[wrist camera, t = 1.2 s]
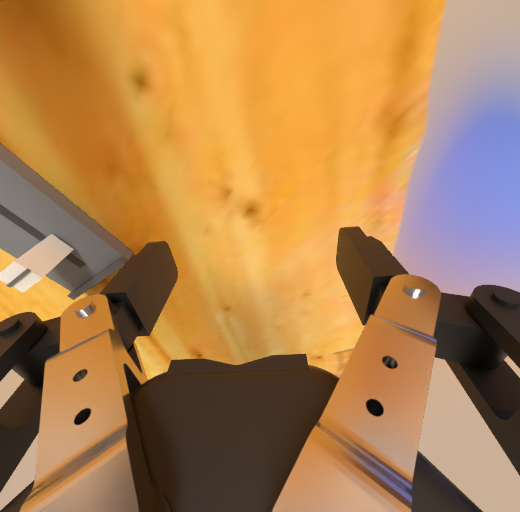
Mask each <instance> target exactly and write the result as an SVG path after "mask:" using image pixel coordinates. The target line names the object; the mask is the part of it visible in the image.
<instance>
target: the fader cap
mask: <svg viewBox="0 0 520 512" xmlns="http://www.w3.org/2000/svg"><path fill="white" fill-rule="evenodd" d="M73 250H74V249H73V248H71V247H70V246H68V245H67V244H66V243H64V242H63V241H61V240H60V239H59V238H57V237H56V236H54V235H53V234H51V235H49V236H48V237H46V238H45V239H44V240H42V241H41V242H40V243H38V244H37V245H36V246H34V247H33V248H31V249H30V250H29V251H27V252H26V253H25V254H23V255H22V256H21V257H19V258H18V259H16V260H15V261H14V262H13V263H11V264H10V265H9V266H8V267H7V268H6V269H4V270H3V271H2V272H1V273H0V280H1V281H3V282H4V283H6V284H8V285H7V286H8V287H11V286H12V287H14V288H15V289H17V290H19V291H21V292H23V293H24V292H25V291H26V290H28V289H29V288H30V287H32V286H33V285H34V284H35V283H37V282H38V281H39V280H41V279H42V278H43V277H44V276H45V275H46V274H47V273H49V272H50V271H51V270H52V269H53V268H54V267H55V266H56V265H57V264H58V263H59V262H61V261H62V260H63V259H64V258H65V257H66V256H67V255H68V254H69V253H70V252H71V251H73Z"/></svg>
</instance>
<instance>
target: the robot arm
mask: <svg viewBox="0 0 520 512" xmlns="http://www.w3.org/2000/svg"><path fill="white" fill-rule="evenodd" d="M336 264H337V269H338V271H339V274H340V276H341V278H342V280H343V282H344V285H345V287H346V289H347V291H348V293H349V296H350V298H351V300H352V302H353V305H354V307H355V309H356V311H357V313H358V316H359V318H360V320H361V322H362V324H363V325H365V327H364V329H363V331H362V333H361V335H360V338H359V340H358V342H357V344H356V346H355V348H354V350H353V352H352V354H351V356H350V358H349V360H348V362H347V364H346V367H345V369H344V371H343V373H342V375H341V377H340V378H338V377H337V376H335V375H333V374H332V373H330V372H328V371H326V370H323V369H321V368H318V367H315V366H311V365H308V362H307V356H306V354H293V355H272V356H269V357H265V358H262V359H258V360H255V361H251V362H248V363H245V364H241V365H231V364H226V363H222V362H217V361H212V360H208V359H184V360H171V363H170V366H169V369H168V371H167V372H165V373H162V374H160V375H158V376H155V377H154V378H152V379H150V380H148V379H147V376H146V373H145V370H144V367H143V364H142V361H141V357H140V354H139V351H138V348H137V346H136V344H135V342H134V341H135V339H136V337H137V336H150V334H151V332H152V330H153V327H154V325H155V323H156V321H157V319H158V317H159V315H160V313H161V311H162V309H163V307H164V305H165V303H166V301H167V299H168V297H169V295H170V293H171V291H172V289H173V287H174V285H175V283H176V281H177V277H178V271H177V267H176V264H175V261H174V259H173V256H172V253H171V250H170V248H169V245H168V243H167V242H165V241H161V242H149V243H147V244H146V245H145V247H144V248H143V249H142V250H141V251H140V253H139V254H137V255H135V256H134V257H133V258H131V259H130V260H128V261H127V263H126V264H125V265H124V266H123V267H122V268H123V269H121V270H120V271H119V272H118V273H117V275H115V276H114V278H113V279H112V280H111V281H110V282H109V283H108V284H107V286H106V287H105V288H104V289H103V290H102V291H101V293H100V294H95V295H90V296H87V297H84V298H82V299H80V300H78V301H76V302H74V303H73V304H71V305H70V306H69V307H68V308H67V309H66V310H65V311H64V312H63V313H62V315H61V317H57V318H54V319H50V320H47V321H43V322H42V321H41V319H40V318H39V317H38V316H37V315H36V314H35V313H33V312H25V313H20V314H17V315H14V316H12V317H9V318H7V319H5V320H3V321H1V322H0V381H1V380H2V379H3V378H4V377H5V375H6V374H7V373H8V372H9V371H10V370H11V369H13V370H14V371H15V372H16V373H18V374H19V375H20V376H21V377H22V378H24V379H25V380H24V381H23V382H22V383H21V385H20V386H19V387H18V388H17V390H16V391H15V392H14V394H13V395H12V396H11V397H10V398H9V399H8V401H7V402H6V403H5V404H4V406H3V407H2V408H1V409H0V492H1V491H2V489H3V487H4V486H5V484H6V482H7V481H8V480H9V478H10V476H11V475H12V473H13V472H14V470H15V469H16V467H17V466H18V464H19V462H20V461H21V459H22V458H23V456H24V455H25V453H26V451H27V449H28V448H29V447H30V445H31V443H32V442H33V440H34V439H35V437H36V436H37V434H38V433H39V438H38V449H37V460H36V471H35V480H34V481H33V482H32V483H31V484H29V485H28V486H27V487H26V488H25V489H24V490H23V491H22V492H21V493H19V494H18V495H17V496H16V497H15V498H14V499H13V500H12V501H11V502H10V503H9V504H7V505H6V506H5V507H4V508H3V509H2V510H1V511H0V512H483V511H482V510H481V509H479V508H478V507H477V506H476V505H475V504H474V503H473V502H472V501H471V500H470V499H469V498H468V497H467V496H466V495H465V494H464V493H462V492H461V491H460V490H459V489H458V488H457V487H456V486H455V485H454V484H453V483H452V482H451V481H450V480H449V479H448V478H447V477H446V476H445V475H443V474H442V473H441V472H440V471H439V470H438V469H437V468H436V467H435V466H434V465H433V464H432V463H431V462H430V461H429V460H428V459H427V458H425V457H424V456H423V455H422V454H421V453H420V452H419V451H418V446H419V440H420V434H421V429H422V424H423V418H424V412H425V407H426V401H427V396H428V390H429V384H430V379H431V373H432V368H433V362H434V357H436V358H441V359H445V360H446V362H447V363H448V365H449V366H450V368H451V370H452V371H453V373H454V374H455V375H456V377H457V379H458V380H459V382H460V383H461V385H462V386H463V388H464V390H465V391H466V393H467V394H468V396H469V397H470V399H471V400H472V402H473V404H474V405H475V407H476V408H477V410H478V411H479V413H480V415H481V416H482V418H483V419H484V421H485V422H486V424H487V425H488V427H489V429H490V430H491V432H492V433H493V435H494V436H495V438H496V439H497V441H498V442H499V444H500V446H501V447H502V449H503V450H504V451H505V453H506V455H507V456H508V458H509V459H510V461H511V463H512V464H513V466H514V467H515V469H516V470H517V472H518V474H519V475H520V378H519V377H518V376H517V374H516V373H515V372H514V371H513V370H512V369H511V368H510V366H509V365H508V364H507V363H506V362H505V361H504V359H505V358H506V357H507V356H509V357H510V358H511V359H512V360H513V361H514V363H515V364H516V365H517V366H518V367H519V368H520V293H519V292H517V291H514V290H511V289H509V288H505V287H501V286H496V285H482V286H478V287H476V288H475V289H474V290H473V292H472V294H471V296H470V297H468V296H461V295H454V294H447V293H441V292H440V290H439V288H438V287H437V286H436V285H435V284H434V283H432V282H431V281H429V280H427V279H425V278H423V277H419V276H416V275H410V274H409V273H408V272H407V271H406V270H405V269H404V268H403V267H402V265H401V264H400V263H399V262H398V261H397V260H396V258H395V257H394V256H392V254H391V253H390V251H389V250H387V248H386V247H385V246H384V244H383V243H382V242H381V241H379V240H377V239H375V238H373V237H372V236H369V237H367V236H366V235H365V234H364V233H363V231H362V230H361V229H360V227H358V226H357V227H344V228H340V230H339V236H338V245H337V255H336Z"/></svg>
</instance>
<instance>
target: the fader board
mask: <svg viewBox="0 0 520 512" xmlns="http://www.w3.org/2000/svg"><path fill="white" fill-rule="evenodd" d="M51 234H53V235H54V236H56V237H57V238H59V239H60V240H61V241H63V242H64V243H66V244H67V245H68V246H70V247H71V248H73V249H74V250H73V251H71V252H70V253H69V254H68V255H67V256H66V257H65V258H64V259H63V260H62V261H61V262H59V263H58V264H57V265H56V266H55V267H54V268H53V269H52V270H51V271H50V272H49V273H47V274H46V275H45V276H47V277H48V278H50V279H52V280H53V281H55V282H57V283H58V284H60V285H62V286H63V287H65V288H66V289H68V290H70V291H71V293H70V294H69V295H68V297H70V298H71V299H73V300H74V299H76V298H77V297H79V296H80V295H81V294H83V293H84V292H86V291H87V290H89V289H90V288H92V287H93V286H95V285H96V284H98V283H99V282H101V281H102V280H104V279H105V278H107V277H108V276H109V275H111V274H112V273H114V272H115V271H117V270H118V269H120V268H121V267H123V266H124V265H125V264H126V263H127V261H128V260H129V259H130V257H131V256H132V254H133V253H134V252H132V251H131V250H130V249H129V248H127V247H126V246H125V245H124V244H123V243H121V242H120V241H119V240H118V239H116V238H115V237H114V236H113V235H112V234H110V233H109V232H108V231H107V230H105V229H104V228H103V227H102V226H101V225H99V224H98V223H97V222H96V221H94V220H93V219H92V218H91V217H90V216H88V215H87V214H86V213H85V212H83V211H82V210H81V209H80V208H79V207H77V206H76V205H75V204H74V203H72V202H71V201H70V200H69V199H68V198H66V197H65V196H64V195H63V194H61V193H60V192H59V191H58V190H57V189H55V188H54V187H53V186H52V185H50V184H49V183H48V182H47V181H46V180H44V179H43V178H42V177H41V176H40V175H38V174H37V173H36V172H35V171H33V170H32V169H31V168H30V167H29V166H27V165H26V164H25V163H24V162H22V161H21V160H20V159H19V158H18V157H16V156H15V155H14V154H13V153H11V152H10V151H9V150H8V149H7V148H5V147H4V146H3V145H2V144H0V248H1V249H3V250H4V251H6V252H8V253H9V254H11V255H12V256H14V257H16V258H17V259H18V258H19V257H21V256H22V255H23V254H25V253H26V252H27V251H29V250H30V249H31V248H33V247H34V246H36V245H37V244H38V243H40V242H41V241H42V240H44V239H45V238H46V237H48V236H49V235H51Z"/></svg>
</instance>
